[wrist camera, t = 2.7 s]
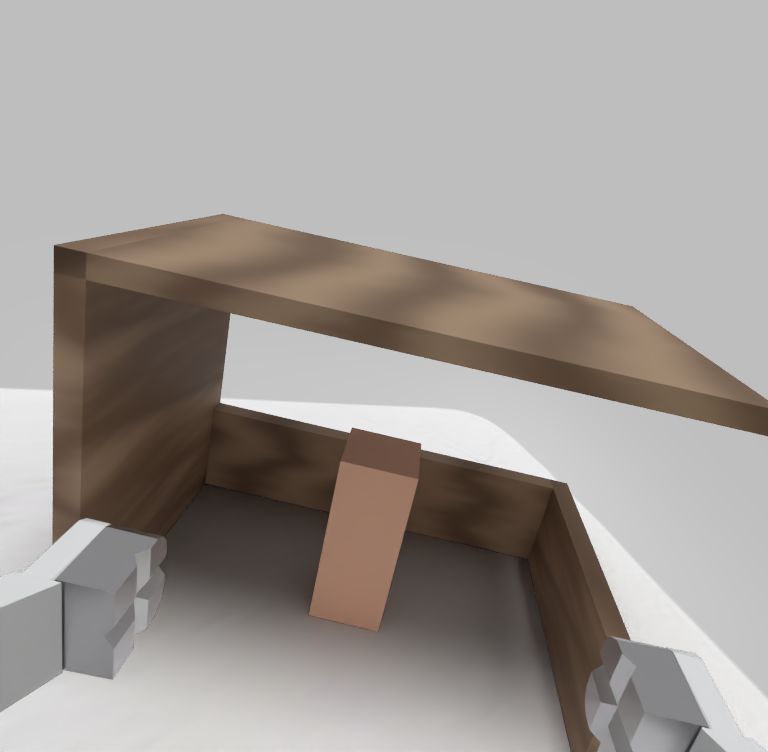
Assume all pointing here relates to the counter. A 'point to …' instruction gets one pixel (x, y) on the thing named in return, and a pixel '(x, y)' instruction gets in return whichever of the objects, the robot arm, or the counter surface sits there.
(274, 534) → the counter surface
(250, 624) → the counter surface
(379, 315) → the walnut box
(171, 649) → the counter surface
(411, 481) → the terracotta block
